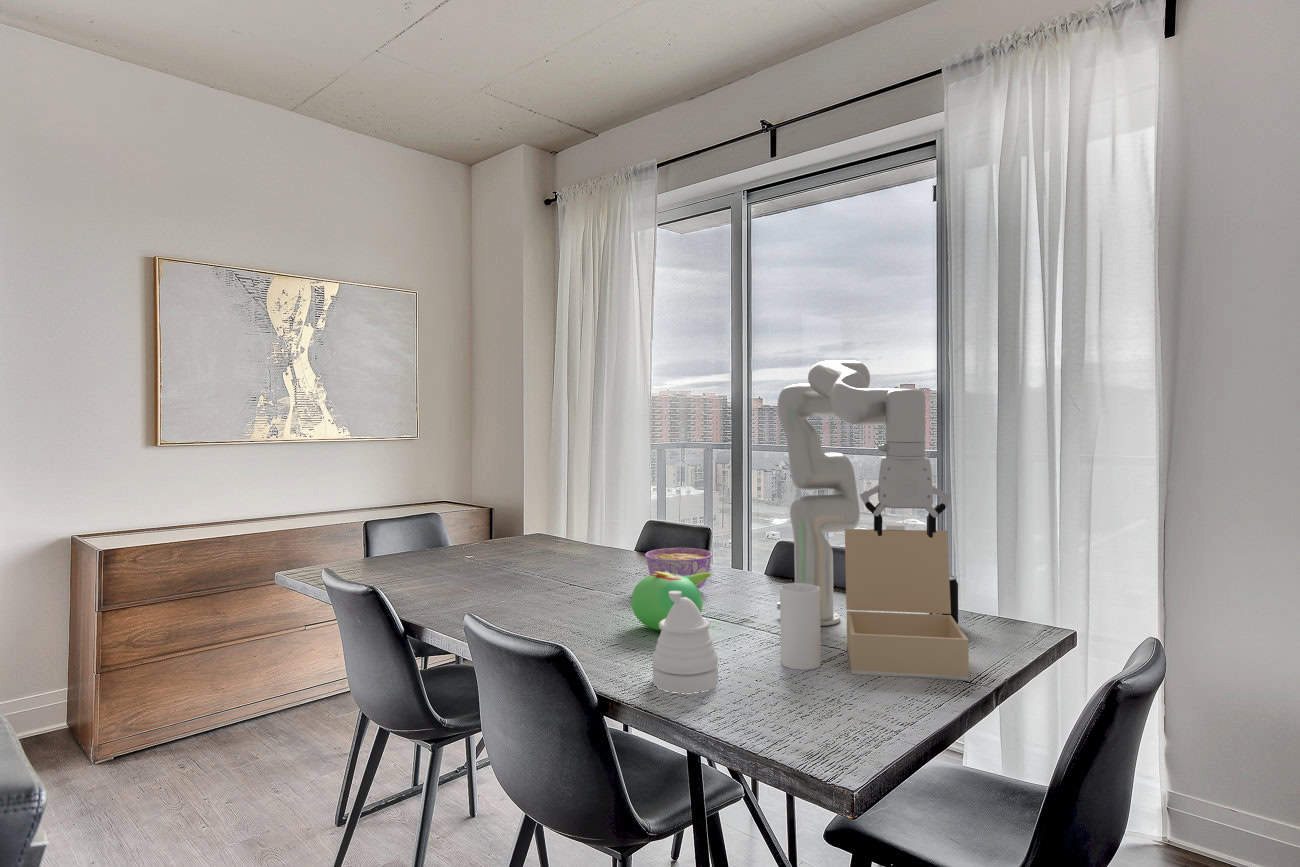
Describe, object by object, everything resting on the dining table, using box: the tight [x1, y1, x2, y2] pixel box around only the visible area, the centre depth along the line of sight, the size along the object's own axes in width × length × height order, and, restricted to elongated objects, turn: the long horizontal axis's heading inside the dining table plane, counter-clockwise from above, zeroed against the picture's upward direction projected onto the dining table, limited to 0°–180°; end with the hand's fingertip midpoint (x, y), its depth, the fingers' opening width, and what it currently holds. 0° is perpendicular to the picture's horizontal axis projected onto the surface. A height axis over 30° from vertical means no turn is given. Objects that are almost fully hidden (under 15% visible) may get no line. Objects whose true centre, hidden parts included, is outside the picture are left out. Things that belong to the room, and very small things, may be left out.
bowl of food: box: [644, 547, 713, 590], centre depth 219 cm, size 20×20×12 cm
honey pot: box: [652, 591, 719, 693], centre depth 145 cm, size 13×13×18 cm
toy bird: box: [630, 571, 712, 632], centre depth 181 cm, size 18×17×15 cm
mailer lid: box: [844, 525, 951, 614], centre depth 165 cm, size 22×19×1 cm
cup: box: [779, 582, 822, 671], centre depth 155 cm, size 8×8×16 cm
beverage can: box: [928, 574, 959, 625], centre depth 181 cm, size 7×7×12 cm
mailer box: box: [846, 610, 970, 682], centre depth 154 cm, size 22×18×8 cm
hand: (904, 535), depth 149 cm, fingers open, 9 cm apart
